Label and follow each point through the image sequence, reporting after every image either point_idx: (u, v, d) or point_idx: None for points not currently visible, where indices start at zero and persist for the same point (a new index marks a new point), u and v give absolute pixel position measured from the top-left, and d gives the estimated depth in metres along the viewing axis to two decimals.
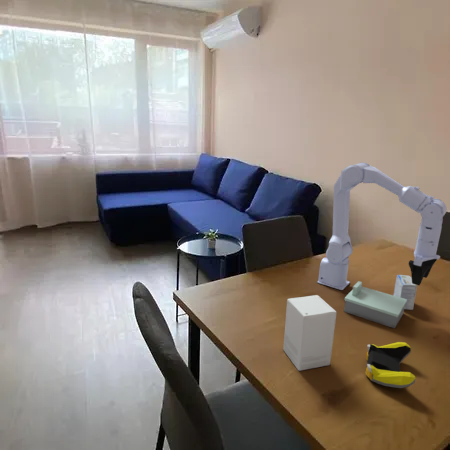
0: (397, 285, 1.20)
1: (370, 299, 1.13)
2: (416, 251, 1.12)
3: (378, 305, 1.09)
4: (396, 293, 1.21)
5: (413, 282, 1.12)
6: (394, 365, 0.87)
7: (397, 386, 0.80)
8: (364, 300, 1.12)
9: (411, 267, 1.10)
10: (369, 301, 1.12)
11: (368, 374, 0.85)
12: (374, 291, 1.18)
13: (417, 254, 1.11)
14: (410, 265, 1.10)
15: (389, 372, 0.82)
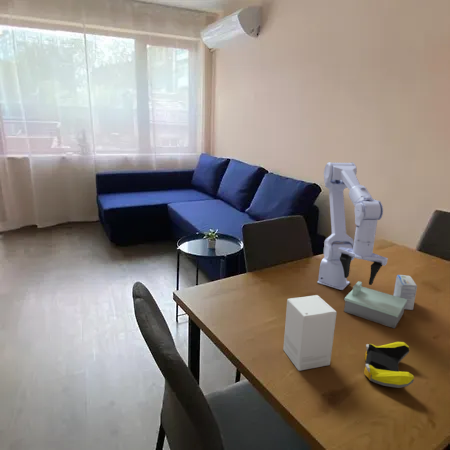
0: (397, 285, 1.20)
1: (370, 299, 1.13)
2: None
3: (378, 305, 1.09)
4: (396, 293, 1.21)
5: None
6: (393, 365, 0.87)
7: (395, 386, 0.80)
8: (364, 300, 1.12)
9: None
10: (369, 301, 1.12)
11: (367, 374, 0.85)
12: (374, 291, 1.18)
13: None
14: None
15: (387, 372, 0.82)
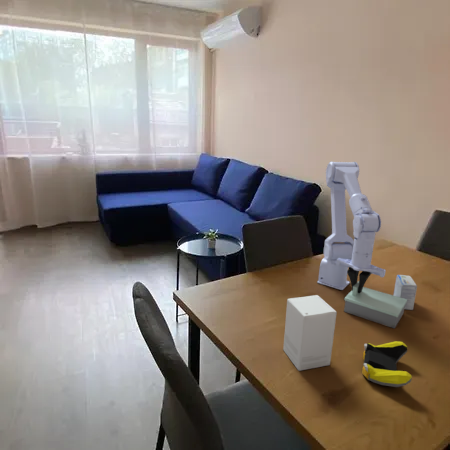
0: (397, 285, 1.20)
1: (370, 299, 1.13)
2: None
3: (378, 305, 1.09)
4: (396, 293, 1.21)
5: None
6: (391, 364, 0.87)
7: (393, 385, 0.81)
8: (364, 300, 1.12)
9: None
10: (369, 301, 1.12)
11: (365, 373, 0.85)
12: (374, 291, 1.18)
13: None
14: None
15: (385, 371, 0.83)
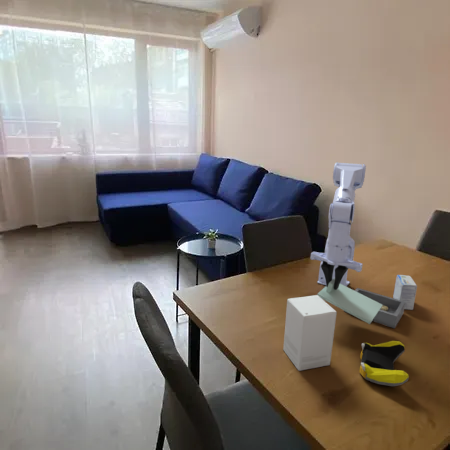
0: (397, 285, 1.20)
1: (344, 299, 1.04)
2: None
3: (351, 307, 1.01)
4: (396, 293, 1.21)
5: None
6: (388, 364, 0.88)
7: (390, 384, 0.81)
8: (338, 299, 1.03)
9: None
10: (343, 301, 1.03)
11: (362, 372, 0.86)
12: (350, 290, 1.09)
13: None
14: None
15: (382, 370, 0.83)
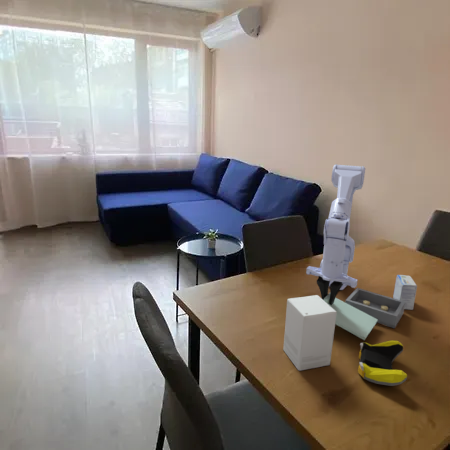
0: (397, 285, 1.20)
1: (339, 314, 1.05)
2: None
3: (346, 323, 1.02)
4: (396, 293, 1.21)
5: None
6: (386, 363, 0.88)
7: (389, 384, 0.81)
8: None
9: None
10: (338, 317, 1.04)
11: (360, 372, 0.86)
12: (345, 304, 1.10)
13: None
14: None
15: (381, 370, 0.83)
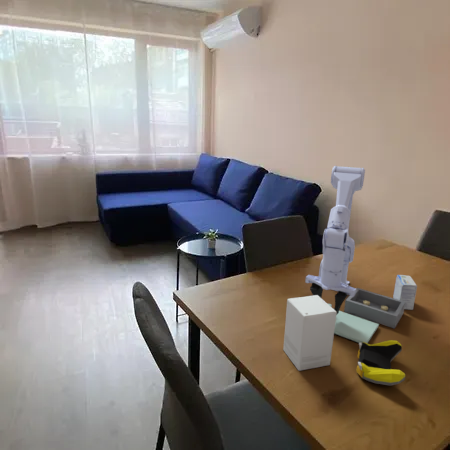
0: (397, 285, 1.20)
1: (339, 324, 1.06)
2: None
3: (346, 331, 1.02)
4: (396, 293, 1.21)
5: None
6: (385, 363, 0.88)
7: (387, 383, 0.81)
8: None
9: None
10: (337, 326, 1.04)
11: (359, 372, 0.86)
12: (345, 314, 1.11)
13: None
14: None
15: (379, 370, 0.83)
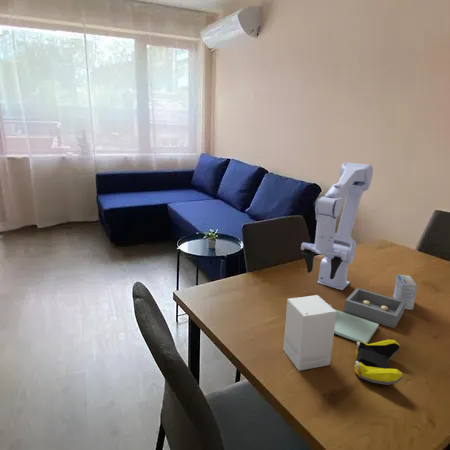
0: (397, 285, 1.20)
1: (339, 324, 1.06)
2: None
3: (346, 331, 1.02)
4: (396, 293, 1.21)
5: None
6: (383, 362, 0.88)
7: (384, 383, 0.81)
8: None
9: None
10: (337, 326, 1.04)
11: (356, 371, 0.86)
12: (345, 314, 1.11)
13: None
14: None
15: (377, 369, 0.83)
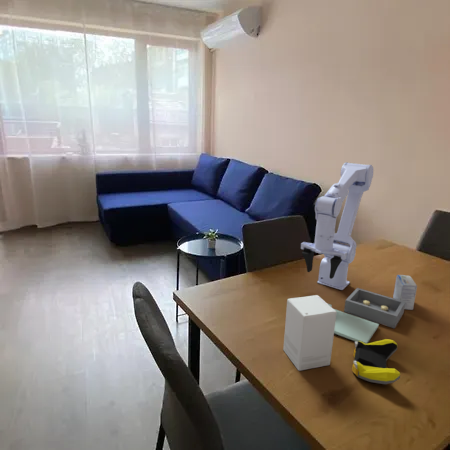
0: (397, 285, 1.20)
1: (339, 324, 1.06)
2: None
3: (346, 331, 1.02)
4: (396, 293, 1.21)
5: None
6: (380, 362, 0.88)
7: (382, 382, 0.81)
8: None
9: None
10: (337, 326, 1.04)
11: (354, 370, 0.86)
12: (345, 314, 1.11)
13: None
14: None
15: (374, 368, 0.83)
